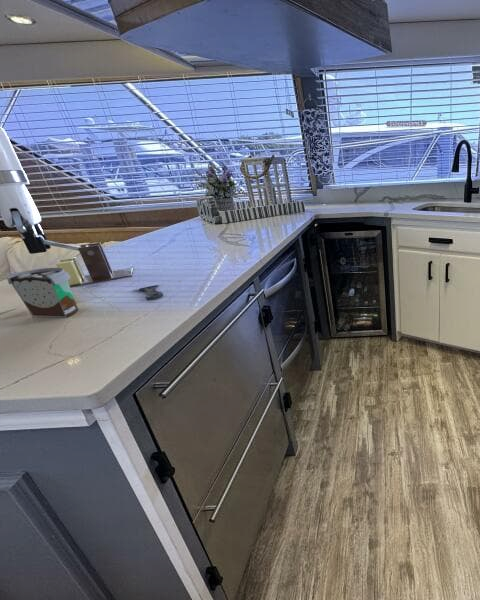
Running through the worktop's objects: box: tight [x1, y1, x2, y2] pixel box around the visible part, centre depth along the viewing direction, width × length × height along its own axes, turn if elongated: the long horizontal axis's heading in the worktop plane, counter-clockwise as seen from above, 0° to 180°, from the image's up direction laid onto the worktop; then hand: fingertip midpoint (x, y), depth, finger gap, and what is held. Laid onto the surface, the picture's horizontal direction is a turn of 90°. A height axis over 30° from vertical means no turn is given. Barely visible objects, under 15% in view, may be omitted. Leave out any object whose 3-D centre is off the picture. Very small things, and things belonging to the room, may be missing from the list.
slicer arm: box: [38, 235, 79, 252], centre depth 89 cm, size 14×3×3 cm, turn 126°
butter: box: [55, 256, 86, 285], centre depth 92 cm, size 3×8×6 cm, turn 36°
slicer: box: [69, 242, 134, 289], centre depth 94 cm, size 14×10×11 cm
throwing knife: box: [138, 284, 164, 300], centre depth 87 cm, size 4×20×1 cm, turn 44°
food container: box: [6, 267, 79, 319], centre depth 74 cm, size 12×6×10 cm, turn 82°
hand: (40, 250), depth 87 cm, fingers open, 4 cm apart
